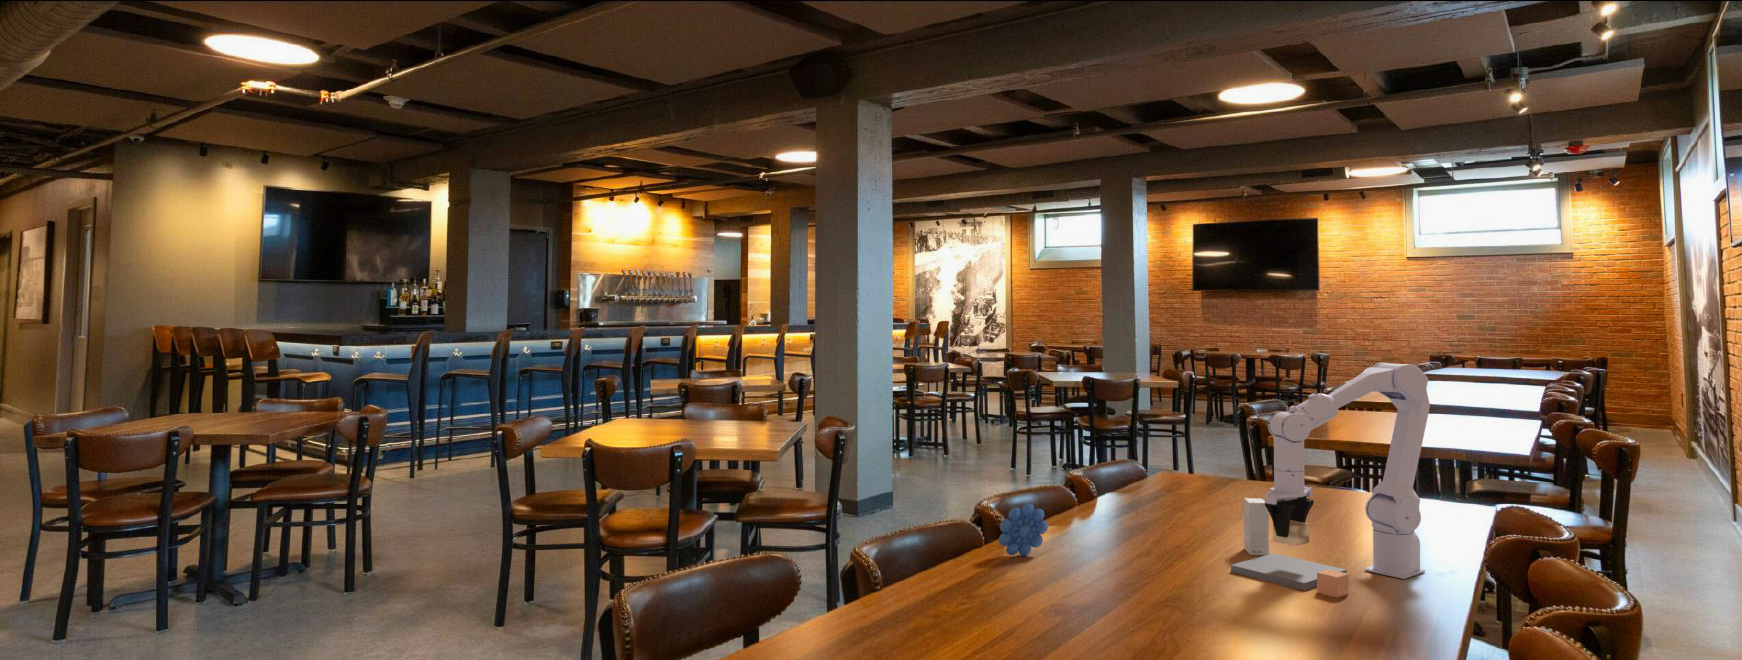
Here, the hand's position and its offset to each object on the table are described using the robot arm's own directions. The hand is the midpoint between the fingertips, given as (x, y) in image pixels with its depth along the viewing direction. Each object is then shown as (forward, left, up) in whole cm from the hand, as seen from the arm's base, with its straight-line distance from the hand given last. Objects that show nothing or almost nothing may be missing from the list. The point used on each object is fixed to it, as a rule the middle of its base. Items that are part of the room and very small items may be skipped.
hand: (1289, 534), depth 180 cm
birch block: (0, 0, -2) cm, 2 cm away
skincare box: (-11, -14, -9) cm, 20 cm away
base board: (0, 0, -8) cm, 8 cm away
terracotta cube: (+5, +12, -9) cm, 15 cm away
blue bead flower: (+34, -44, -9) cm, 57 cm away
